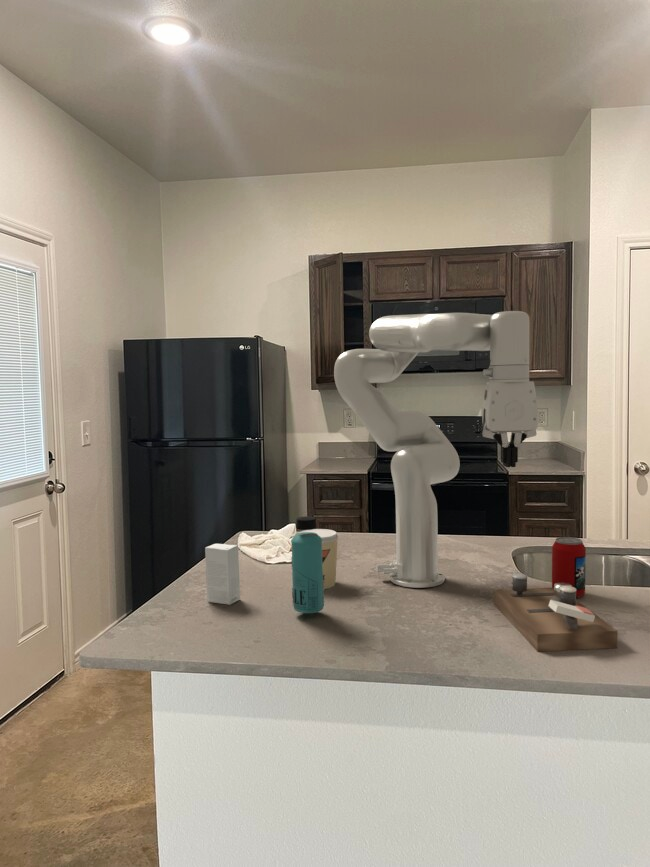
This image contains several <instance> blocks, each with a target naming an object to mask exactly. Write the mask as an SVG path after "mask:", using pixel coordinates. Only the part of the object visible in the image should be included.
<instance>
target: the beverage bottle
mask: <svg viewBox="0 0 650 867" xmlns="http://www.w3.org/2000/svg"><path fill="white" fill-rule="evenodd" d="M295 522H296V523H295V529H296V530H299V531H300V530H301V532H302V531H305V530H312V529H318V528H317V519H316V517H314V516H307V515H306V516H299V517H297V518H296V520H295ZM290 544H291V555H290V556H291V559H290V560H291V562H290V563H291V566H290V567H291V570H292V572H291V573H292V574H291V575H292V577H291V579H292V587H291V588H292V589H291V595H292V598H291V600H292V604H291V605H292V607H293V610H294V611H295V612H297V613H301V614H302V613H303V614H313V613H314V614H315V613H318V612H321V611H322V610H324V606H326V605H325V597H326V596H325V590H324V589H323V584H324V581H323V579H324V578H323V565H322V538H321V537H320V536H319V535H318V534H316V533H313V532H302V533H300V532H298V533H296V534H295V535H294V536H293V537H291V540H290Z"/></svg>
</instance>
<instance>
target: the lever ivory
mask: <svg viewBox="0 0 650 867" xmlns="http://www.w3.org/2000/svg"><path fill="white" fill-rule="evenodd" d="M576 600H577V598H576V588H574V587H571V586H562V587H560V602H561V603H565V604H569V605H572V606H575V605H576Z"/></svg>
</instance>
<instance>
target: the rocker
mask: <svg viewBox="0 0 650 867" xmlns="http://www.w3.org/2000/svg"><path fill="white" fill-rule="evenodd" d="M549 607H550V608H551V609H552V610H554V611H555V612H557V613H560V614H564V615H568V616H572V617H575V618H579V619H583V620H586V621H590V622H593V621H594V618H595V614H596V613H594V612H593V611H592V610H590V609H589V608H588V607H587V608H588V609H589V610H590V611H589V610H588V609H587V608H584V607H580V606H577V605H576V606H572V605H569V604H565V603H561V602H558V601H554V600H550V602H549ZM591 611H592V612H593V613H594V614H593V613H592V612H591Z"/></svg>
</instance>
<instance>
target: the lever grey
mask: <svg viewBox="0 0 650 867" xmlns="http://www.w3.org/2000/svg"><path fill="white" fill-rule="evenodd" d="M511 580H512V583H511V585H512V586H511V587H512V588H511V589H513V590H514V591H517V594H519V595H522V594H523V592H525V591H527V589H528V575H527V574H526V573H519V572H518V573H512V579H511Z"/></svg>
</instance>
